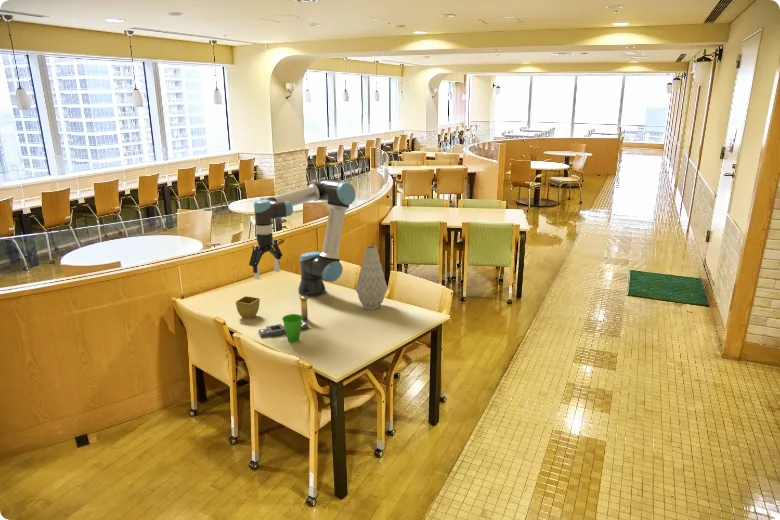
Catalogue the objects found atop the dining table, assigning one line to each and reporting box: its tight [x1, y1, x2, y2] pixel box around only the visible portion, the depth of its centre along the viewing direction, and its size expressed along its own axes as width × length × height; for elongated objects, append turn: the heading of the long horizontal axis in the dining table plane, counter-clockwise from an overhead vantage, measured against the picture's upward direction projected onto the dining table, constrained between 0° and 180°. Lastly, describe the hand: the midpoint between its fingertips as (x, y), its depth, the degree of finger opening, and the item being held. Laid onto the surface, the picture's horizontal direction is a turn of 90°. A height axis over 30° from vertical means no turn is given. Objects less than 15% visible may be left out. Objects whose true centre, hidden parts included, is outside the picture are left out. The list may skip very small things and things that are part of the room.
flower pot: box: [235, 295, 261, 319], centre depth 266 cm, size 9×9×9 cm
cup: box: [281, 313, 303, 343], centre depth 240 cm, size 9×9×11 cm
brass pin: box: [299, 295, 309, 322], centre depth 262 cm, size 4×4×12 cm
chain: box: [257, 321, 309, 338], centre depth 250 cm, size 23×7×2 cm, turn 117°
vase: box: [355, 245, 388, 311], centre depth 276 cm, size 17×17×33 cm
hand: (267, 275), depth 260 cm, fingers open, 13 cm apart
